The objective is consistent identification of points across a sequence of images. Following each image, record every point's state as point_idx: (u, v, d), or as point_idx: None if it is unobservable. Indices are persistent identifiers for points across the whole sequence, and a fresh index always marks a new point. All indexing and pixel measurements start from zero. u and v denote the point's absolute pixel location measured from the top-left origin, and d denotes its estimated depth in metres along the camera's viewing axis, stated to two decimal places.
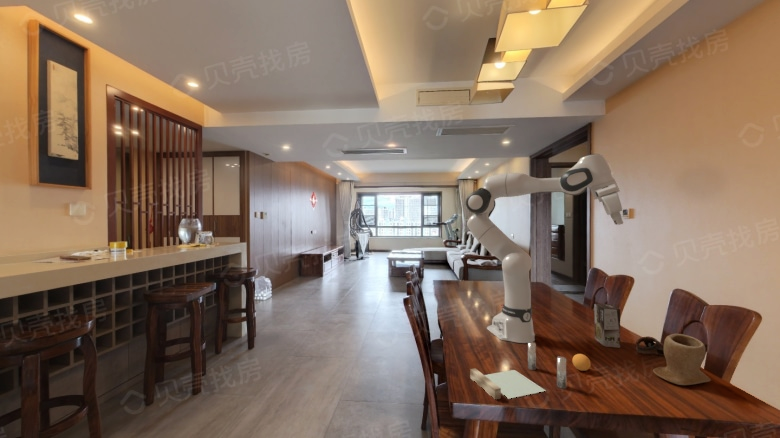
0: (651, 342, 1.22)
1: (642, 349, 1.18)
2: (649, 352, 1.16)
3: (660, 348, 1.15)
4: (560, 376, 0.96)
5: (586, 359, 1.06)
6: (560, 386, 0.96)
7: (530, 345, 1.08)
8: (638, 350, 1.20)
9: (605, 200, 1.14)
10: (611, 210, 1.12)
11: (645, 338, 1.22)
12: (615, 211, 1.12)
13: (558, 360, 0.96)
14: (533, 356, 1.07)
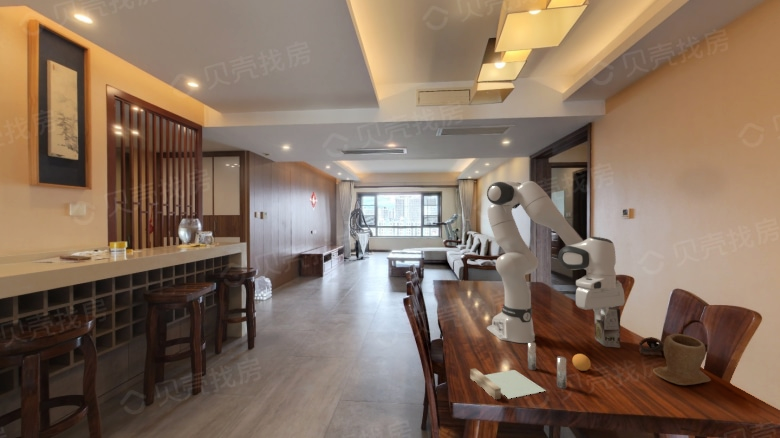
0: (654, 343, 1.21)
1: (646, 350, 1.17)
2: (653, 353, 1.15)
3: None
4: (560, 376, 0.96)
5: (586, 359, 1.06)
6: (560, 386, 0.96)
7: (530, 345, 1.08)
8: (641, 351, 1.19)
9: (576, 292, 1.10)
10: (576, 304, 1.09)
11: (648, 339, 1.21)
12: (579, 307, 1.08)
13: (558, 360, 0.96)
14: (533, 356, 1.07)
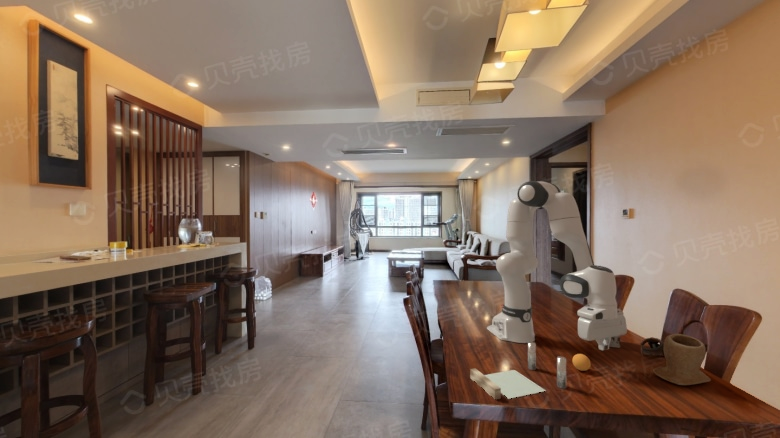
0: (655, 343, 1.21)
1: (647, 350, 1.17)
2: (654, 353, 1.15)
3: None
4: (560, 376, 0.96)
5: (586, 359, 1.06)
6: (560, 386, 0.96)
7: (530, 345, 1.08)
8: (643, 351, 1.19)
9: (578, 322, 1.09)
10: (579, 335, 1.08)
11: (649, 339, 1.20)
12: (582, 338, 1.07)
13: (558, 360, 0.96)
14: (533, 356, 1.07)
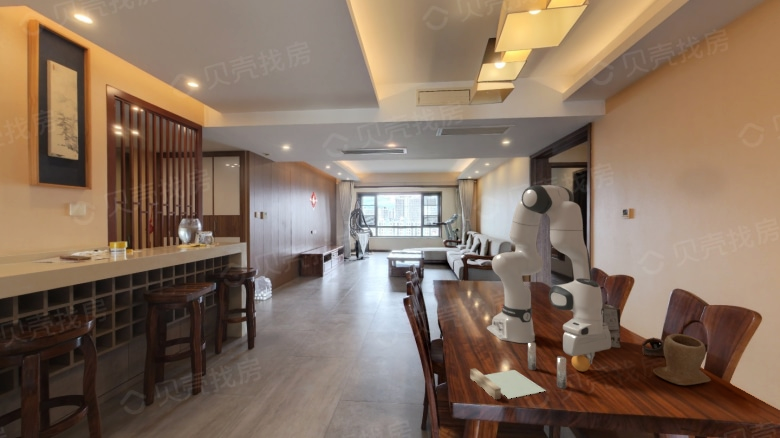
0: (657, 343, 1.21)
1: (649, 351, 1.17)
2: (656, 354, 1.15)
3: None
4: (560, 376, 0.96)
5: (585, 360, 1.05)
6: (560, 386, 0.96)
7: (530, 345, 1.08)
8: (644, 352, 1.18)
9: (563, 337, 1.07)
10: (564, 350, 1.06)
11: (651, 339, 1.20)
12: (567, 353, 1.05)
13: (558, 360, 0.96)
14: (533, 356, 1.07)
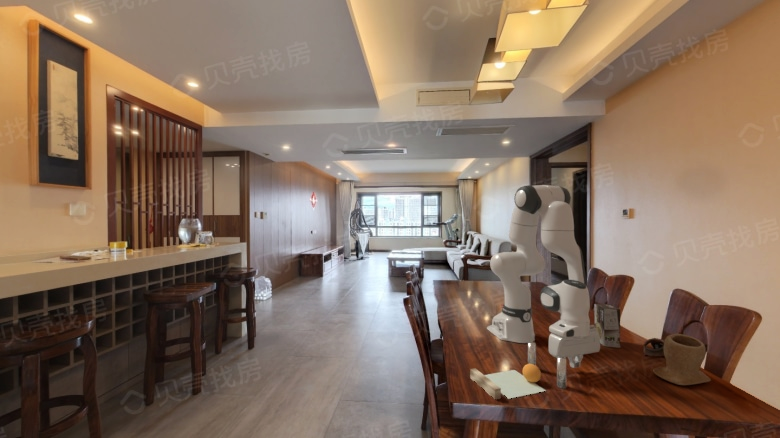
0: (658, 344, 1.20)
1: (650, 351, 1.16)
2: (657, 354, 1.14)
3: None
4: (560, 376, 0.96)
5: (531, 375, 0.97)
6: (560, 386, 0.96)
7: (530, 345, 1.08)
8: (646, 352, 1.18)
9: (549, 339, 1.06)
10: (549, 351, 1.05)
11: (652, 340, 1.20)
12: (552, 355, 1.04)
13: (558, 360, 0.96)
14: (533, 356, 1.07)
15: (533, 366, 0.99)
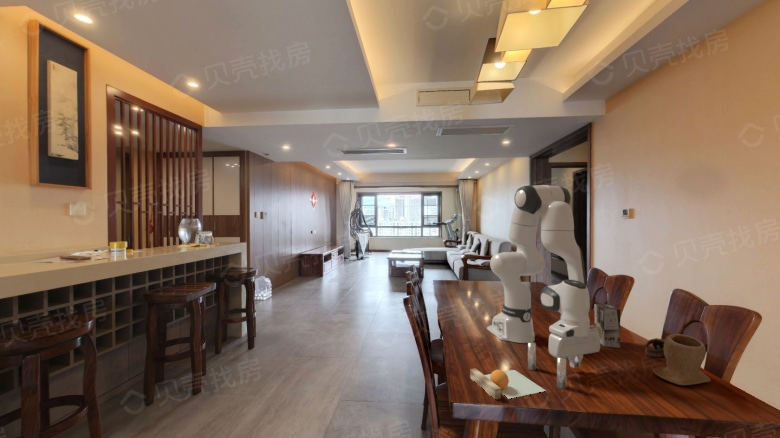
0: (660, 344, 1.20)
1: (652, 351, 1.16)
2: (659, 354, 1.14)
3: None
4: (560, 376, 0.96)
5: (504, 376, 0.94)
6: (560, 386, 0.96)
7: (530, 345, 1.08)
8: (648, 352, 1.18)
9: (549, 339, 1.06)
10: (549, 351, 1.05)
11: (654, 340, 1.19)
12: (552, 355, 1.04)
13: (558, 360, 0.96)
14: (533, 356, 1.07)
15: None
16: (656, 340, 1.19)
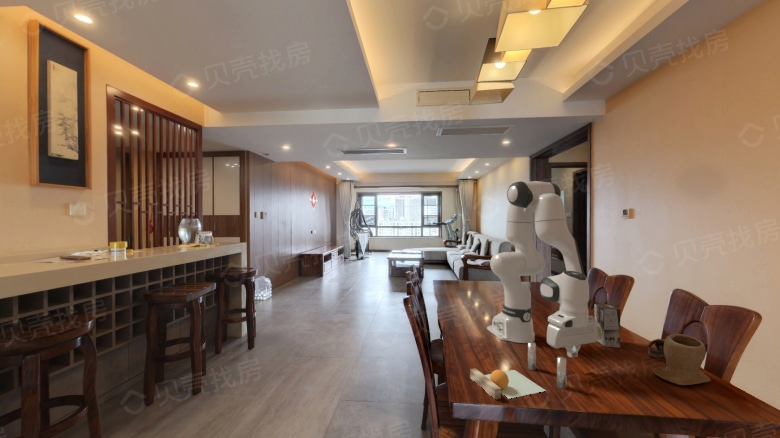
0: (662, 345, 1.20)
1: (655, 352, 1.15)
2: (662, 355, 1.13)
3: None
4: (560, 376, 0.96)
5: (504, 376, 0.94)
6: (560, 386, 0.96)
7: (530, 345, 1.08)
8: (650, 353, 1.17)
9: (547, 329, 1.06)
10: (547, 341, 1.06)
11: (657, 341, 1.19)
12: (550, 345, 1.05)
13: (558, 360, 0.96)
14: (533, 356, 1.07)
15: None
16: (659, 341, 1.19)
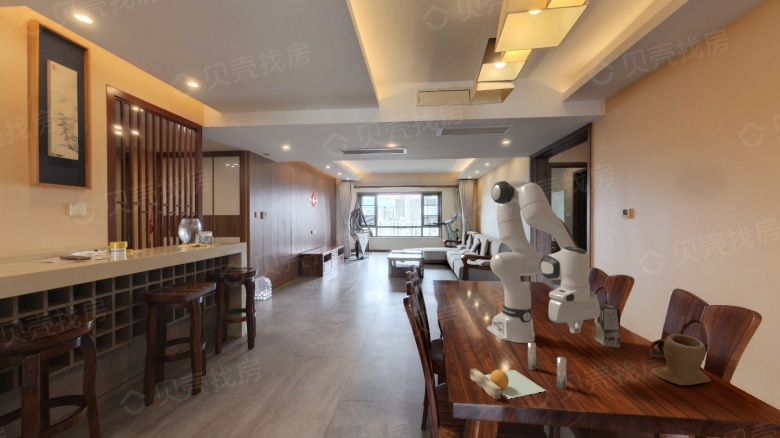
0: None
1: (657, 353, 1.15)
2: None
3: None
4: (560, 376, 0.96)
5: (504, 376, 0.94)
6: (560, 386, 0.96)
7: (530, 345, 1.08)
8: (653, 354, 1.17)
9: (549, 304, 1.06)
10: (549, 317, 1.05)
11: (659, 341, 1.18)
12: (552, 320, 1.04)
13: (558, 360, 0.96)
14: (533, 356, 1.07)
15: None
16: (661, 341, 1.18)
